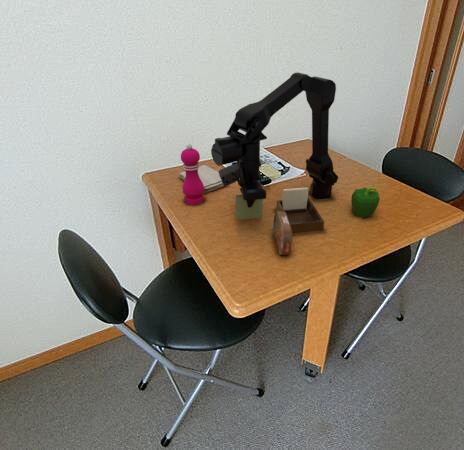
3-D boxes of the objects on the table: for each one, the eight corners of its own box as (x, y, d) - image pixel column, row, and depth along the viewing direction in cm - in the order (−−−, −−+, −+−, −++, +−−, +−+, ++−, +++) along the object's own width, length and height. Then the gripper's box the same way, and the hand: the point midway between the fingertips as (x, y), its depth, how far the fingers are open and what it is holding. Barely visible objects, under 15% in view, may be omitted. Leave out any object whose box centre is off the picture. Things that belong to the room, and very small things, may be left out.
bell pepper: (344, 214, 109) (349, 187, 104) (355, 205, 114) (360, 178, 109) (368, 224, 105) (375, 195, 99) (379, 213, 110) (386, 186, 104)
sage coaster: (235, 218, 103) (235, 195, 99) (261, 215, 105) (262, 193, 100) (236, 219, 103) (235, 196, 98) (262, 217, 104) (262, 194, 99)
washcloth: (203, 195, 119) (202, 187, 118) (177, 177, 131) (176, 170, 129) (230, 185, 126) (230, 178, 124) (203, 170, 137) (203, 162, 135)
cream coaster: (281, 211, 110) (283, 189, 105) (305, 209, 111) (307, 187, 106) (282, 212, 109) (283, 190, 104) (306, 210, 110) (308, 188, 106)
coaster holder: (276, 210, 111) (276, 200, 109) (307, 207, 113) (308, 197, 111) (287, 235, 99) (288, 224, 97) (322, 232, 101) (324, 221, 99)
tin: (272, 229, 102) (273, 205, 97) (282, 229, 102) (284, 204, 97) (280, 261, 89) (281, 235, 85) (291, 261, 90) (294, 234, 85)
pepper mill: (201, 206, 113) (196, 149, 102) (180, 204, 114) (173, 147, 103) (207, 196, 119) (203, 141, 108) (188, 194, 120) (182, 139, 109)
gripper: (216, 146, 99) (219, 193, 108) (223, 173, 84) (226, 225, 93) (254, 144, 101) (253, 190, 110) (267, 170, 86) (265, 221, 94)
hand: (249, 206), depth 101 cm, fingers closed on sage coaster, 1 cm apart
